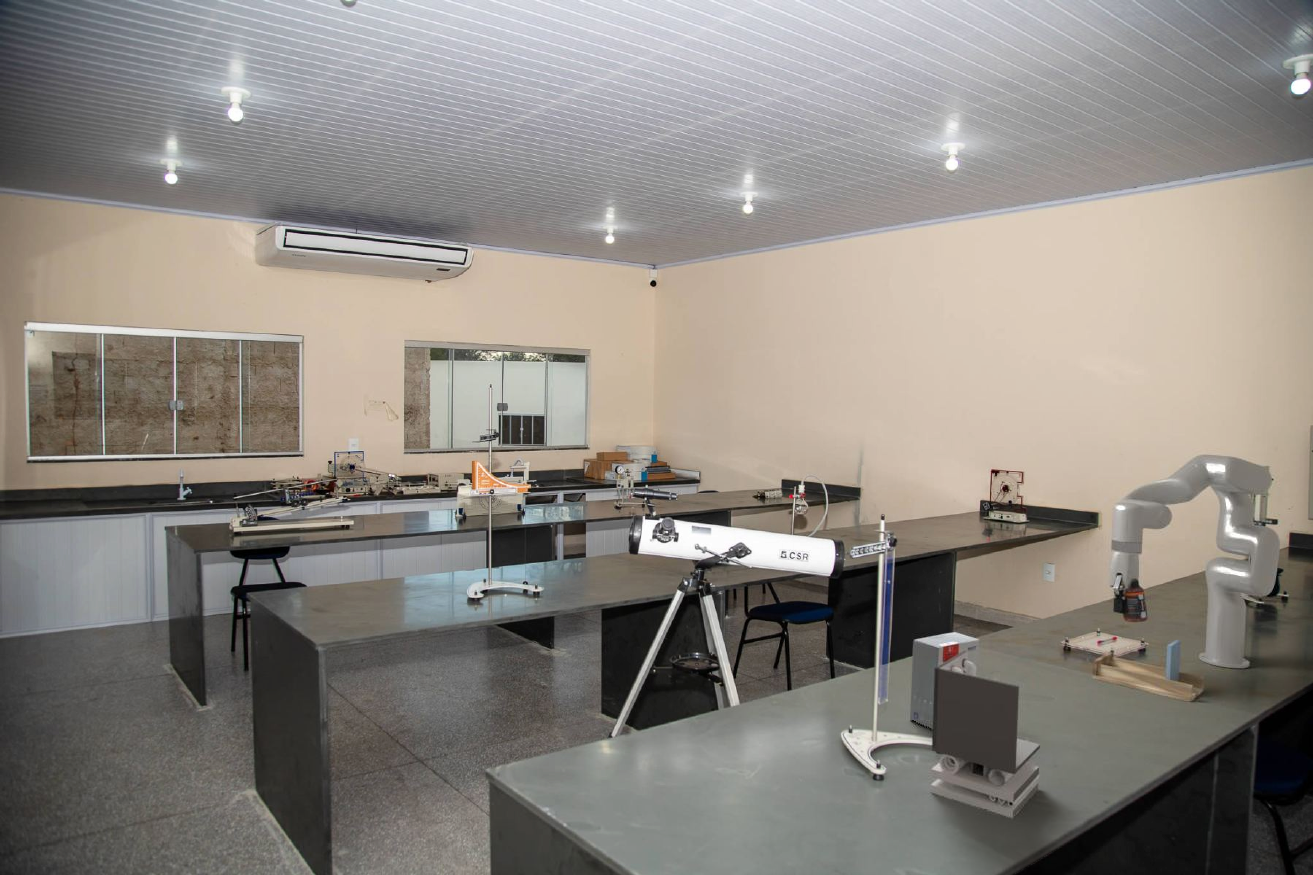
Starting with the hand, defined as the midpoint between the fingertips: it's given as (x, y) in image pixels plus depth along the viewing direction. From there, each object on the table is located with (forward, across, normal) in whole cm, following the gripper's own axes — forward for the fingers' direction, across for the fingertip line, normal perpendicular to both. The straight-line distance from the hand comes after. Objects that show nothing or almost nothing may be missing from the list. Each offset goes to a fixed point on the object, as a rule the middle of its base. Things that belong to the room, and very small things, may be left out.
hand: (1123, 610), depth 236 cm
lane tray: (+19, 0, +7) cm, 21 cm away
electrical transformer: (+19, +95, +5) cm, 97 cm away
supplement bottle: (+2, 0, +3) cm, 4 cm away
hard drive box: (+19, +67, -19) cm, 72 cm away
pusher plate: (+18, 0, +13) cm, 22 cm away
